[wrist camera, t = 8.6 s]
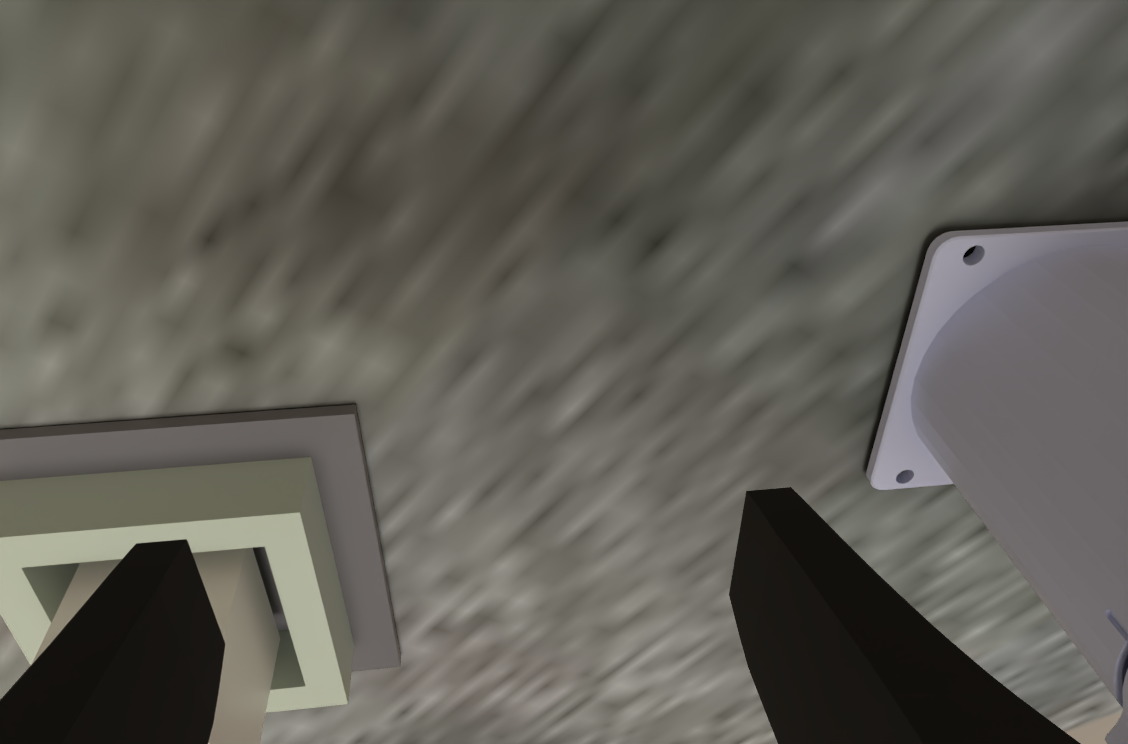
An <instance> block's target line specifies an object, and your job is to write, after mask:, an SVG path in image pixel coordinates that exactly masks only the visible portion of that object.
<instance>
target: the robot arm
mask: <svg viewBox="0 0 1128 744" xmlns="http://www.w3.org/2000/svg"><path fill="white" fill-rule="evenodd" d="M973 246H976V248H975V250H974V251H973V253H972V254H970V255H969V256H968V257H965V258H963V256H964V254H965V252H966V251H967V250H968V249H969V248H971V247H973ZM904 470H905V471H904ZM902 471H904V472H902ZM900 472H902V473H901V474H899V473H900ZM866 477H867V478H868V480H869V481H870V483H871V485H872V486H873V487H874V488H876V489H878V490H890V489H901V488H913V487H924V486H936V485H947V484H954V485H955V486H956V487H957V489H958V490H959V491H960V493H961V494H962V495H963V497H964V498H965V499H966V501H967V502H968V503H969V505H970V506H971V507H972V509H973V510H974V511H975V513H976V514H977V515H978V517H979V518H980V519H981V521H982V522H983V523H984V524H985V526H986V527H987V528H988V530H989V531H990V532H991V534H992V535H993V536H994V538H995V539H996V540H997V542H998V543H999V544H1000V546H1001V547H1002V548H1003V550H1004V551H1005V552H1006V554H1007V555H1008V556H1009V558H1010V559H1011V560H1012V562H1013V563H1014V564H1015V566H1016V567H1017V568H1018V570H1019V571H1020V572H1021V574H1022V575H1023V576H1024V578H1025V579H1026V580H1027V582H1028V583H1029V584H1030V586H1031V587H1032V588H1033V590H1034V591H1035V592H1036V594H1037V595H1038V596H1039V598H1040V599H1041V600H1042V602H1043V603H1044V604H1045V605H1046V607H1047V608H1048V609H1049V611H1050V612H1051V613H1052V615H1053V616H1054V617H1055V619H1056V620H1057V621H1058V623H1059V624H1060V625H1061V627H1062V628H1063V629H1064V631H1065V632H1066V633H1067V635H1068V636H1069V637H1070V639H1071V640H1072V641H1073V643H1074V644H1075V645H1076V647H1077V648H1078V649H1079V651H1080V652H1081V653H1082V655H1083V656H1084V657H1085V659H1086V660H1087V661H1088V663H1089V664H1090V665H1091V667H1092V668H1093V669H1094V671H1095V672H1096V673H1097V675H1098V676H1099V677H1100V679H1101V680H1102V681H1103V683H1104V684H1105V685H1106V687H1107V688H1108V689H1109V690H1110V692H1111V693H1112V694H1113V696H1114V697H1115V698H1116V700H1117V701H1118V702H1119V704H1120V705H1121V706H1122V708H1123V711H1122V714H1121V717H1120V718H1119V720H1118V722H1117V723H1116V725H1115V726H1114V727H1113V728H1112V730H1111V731H1110V732H1109V733H1108V734H1107V736H1106V737H1105V740H1106V742H1107V744H1128V221H1127V222H1109V223H1091V224H1072V225H1054V226H1036V227H1018V228H1000V229H982V230H963V231H951V232H946V233H943V234H942V235H940V236H938V237H937V238H936V239H935V240H934V241H933V242H932V243H931V244H930V246H929V248H928V250H927V253H926V256H925V260H924V264H923V267H922V271H921V275H920V278H919V282H918V286H917V289H916V293H915V297H914V300H913V304H912V307H911V311H910V315H909V318H908V322H907V326H906V329H905V333H904V337H903V340H902V344H901V348H900V351H899V355H898V358H897V362H896V366H895V369H894V373H893V377H892V380H891V384H890V388H889V391H888V395H887V399H886V402H885V406H884V409H883V413H882V417H881V420H880V424H879V428H878V431H877V435H876V439H875V442H874V446H873V450H872V453H871V457H870V460H869V464H868V468H867V471H866ZM729 596H730V600H731V604H732V608H733V612H734V616H735V620H736V624H737V628H738V632H739V635H740V639H741V643H742V646H743V650H744V654H745V657H746V661H747V664H748V667H749V670H750V673H751V675H752V678H753V681H754V683H755V686H756V688H757V691H758V694H759V696H760V699H761V701H762V704H763V706H764V709H765V712H766V714H767V717H768V719H769V722H770V724H771V727H772V729H773V732H774V734H775V737H776V739H777V742H778V744H1080V743H1079V742H1077V741H1076V740H1075V739H1073V738H1072V737H1071V736H1069V735H1068V734H1067V733H1065V732H1064V731H1063V730H1061V729H1060V728H1059V727H1057V726H1056V725H1055V724H1053V723H1052V722H1051V721H1049V720H1048V719H1047V718H1045V717H1044V716H1043V715H1041V714H1040V713H1039V712H1037V711H1036V710H1035V709H1033V708H1032V707H1031V706H1029V705H1028V704H1027V703H1025V702H1024V701H1023V700H1021V699H1020V698H1019V697H1017V696H1016V695H1015V694H1014V693H1012V692H1011V691H1010V690H1008V689H1007V688H1006V687H1005V686H1003V685H1002V684H1001V683H1000V682H998V681H997V680H996V679H995V678H993V677H992V676H991V675H990V674H989V673H987V672H986V671H985V670H984V669H983V668H981V667H980V666H979V665H978V664H977V663H975V662H974V661H973V660H972V659H971V658H970V657H968V656H967V655H966V654H965V653H964V652H963V651H961V650H960V649H959V648H958V647H957V646H956V645H954V644H953V643H952V642H951V641H950V640H949V639H947V638H946V637H945V636H944V635H943V634H942V633H941V632H940V631H938V630H937V629H936V628H935V627H934V626H933V625H932V624H931V623H930V622H928V621H927V620H926V619H925V618H924V617H923V616H922V615H921V614H920V613H919V612H918V611H916V610H915V609H914V608H913V607H912V606H911V605H910V604H909V603H908V602H907V601H906V600H905V599H904V598H903V597H901V596H900V595H899V594H898V593H897V592H896V591H895V590H894V589H893V588H892V587H891V586H890V585H889V584H888V583H887V582H885V581H884V580H883V579H882V578H881V577H880V576H879V575H878V574H877V573H876V572H875V571H874V570H873V569H872V568H871V567H870V566H869V565H868V564H867V563H866V562H865V561H864V560H863V559H862V558H861V557H860V556H859V555H858V554H857V553H856V552H855V551H854V550H853V549H852V548H851V547H850V546H849V545H848V544H847V543H846V542H845V541H844V540H843V539H842V538H841V537H840V536H839V535H838V534H837V533H836V532H835V531H834V530H833V529H832V528H831V527H830V526H829V525H828V524H827V523H826V522H825V521H824V520H823V519H822V518H821V517H820V516H819V515H818V514H817V513H816V512H815V511H814V510H813V509H812V508H811V507H810V506H809V505H808V504H807V503H806V502H805V501H804V500H803V499H802V498H801V497H800V496H799V495H798V494H797V493H796V492H795V491H794V490H793V489H792V488H791V487H790V488H778V489H766V490H755V491H746V497H745V503H744V509H743V515H742V521H741V527H740V533H739V539H738V545H737V551H736V557H735V563H734V569H733V575H732V580H731V586H730V592H729ZM224 651H225V641H224V639H223V636H222V633H221V630H220V628H219V625H218V622H217V620H216V617H215V614H214V611H213V609H212V606H211V603H210V601H209V598H208V595H207V592H206V590H205V587H204V584H203V581H202V579H201V576H200V573H199V571H198V568H197V565H196V562H195V560H194V557H193V554H192V552H191V549H190V546H189V543H188V541H187V539H183V540H171V541H159V542H148V543H136V544H135V545H134V547H133V548H132V549H131V550H130V551H129V552H128V553H127V554H126V555H125V557H124V558H123V559H122V560H121V561H120V562H119V563H118V565H117V566H116V567H115V568H114V569H113V570H112V572H111V573H110V574H109V575H108V576H107V577H106V579H105V580H104V581H103V582H102V583H101V585H100V586H99V587H98V588H97V589H96V590H95V592H94V593H93V594H92V595H91V596H90V598H89V599H88V600H87V601H86V602H85V604H84V605H83V606H82V607H81V608H80V609H79V611H78V612H77V613H76V614H75V615H74V616H73V618H72V619H71V620H70V621H69V622H68V623H67V625H66V626H65V627H64V628H63V629H62V631H61V632H60V633H59V634H58V635H57V636H56V638H55V639H54V640H53V641H52V642H51V643H50V645H49V646H48V647H47V648H46V649H45V650H44V651H43V652H42V654H41V655H40V656H39V657H38V658H37V659H36V660H35V661H34V663H33V664H32V665H31V666H30V667H29V668H28V669H27V671H26V672H25V673H24V674H23V675H22V676H21V677H20V678H19V680H18V681H17V682H16V683H15V684H14V685H13V686H12V687H11V689H10V690H9V691H8V692H7V693H6V694H5V695H4V696H3V698H2V699H1V700H0V744H208V742H209V738H210V734H211V730H212V727H213V723H214V717H215V711H216V705H217V699H218V693H219V686H220V679H221V672H222V665H223V658H224Z"/></svg>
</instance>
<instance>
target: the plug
mask: <svg viewBox="0 0 1128 744" xmlns="http://www.w3.org/2000/svg"><path fill="white" fill-rule="evenodd" d="M192 554H193V557H194V560H195V562H196V565H197V568H198V571H199V573H200V576H201V579H202V581H203V584H204V587H205V590H206V592H207V595H208V598H209V601H210V603H211V606H212V609H213V611H214V614H215V617H216V620H217V622H218V625H219V628H220V630H221V633H222V636H223V639H224V641H225V651H224V658H223V665H222V672H221V679H220V686H219V693H218V699H217V705H216V711H215V717H214V723H213V727H212V730H211V734H210V738H209V742H208V744H260V739H261V734H262V729H263V724H264V719H265V714H266V709H267V703H268V698H269V693H270V688H271V683H272V678H273V673H274V668H275V662H276V657H277V652H278V647H279V642H280V636H279V632H278V629H277V626H276V623H275V619H274V616H273V613H272V610H271V606H270V603H269V600H268V597H267V593H266V590H265V587H264V584H263V580H262V577H261V574H260V571H259V567H258V564H257V561H256V558H255V554H254V551H253V548H242V549H230V550H219V551H207V552H196V553H192ZM121 560H122V559H116V560H104V561H93V562H81V563H80V564H79V566H78V568H77V570H76V572H75V575H74V577H73V579H72V581H71V583H70V585H69V587H68V589H67V591H66V593H65V595H64V598H63V600H62V602H61V604H60V606H59V608H58V610H57V612H56V614H55V616H54V618H53V621H52V623H51V625H50V627H49V629H48V631H47V633H46V635H45V637H44V639H43V641H42V643H41V646H40V648H39V650H38V652H37V654H36V656H35V658H34V660H33V662H32V664H33V663H34V661H35V660H36V659H37V658H38V657H39V656H40V655H41V654H42V652H43V651H44V650H45V649H46V648H47V647H48V646H49V645H50V643H51V642H52V641H53V640H54V639H55V638H56V636H57V635H58V634H59V633H60V632H61V631H62V629H63V628H64V627H65V626H66V625H67V623H68V622H69V621H70V620H71V619H72V618H73V616H74V615H75V614H76V613H77V612H78V611H79V609H80V608H81V607H82V606H83V605H84V604H85V602H86V601H87V600H88V599H89V598H90V596H91V595H92V594H93V593H94V592H95V590H96V589H97V588H98V587H99V586H100V585H101V583H102V582H103V581H104V580H105V579H106V577H107V576H108V575H109V574H110V573H111V572H112V570H113V569H114V568H115V567H116V566H117V565H118V563H119V562H120V561H121ZM32 664H31V665H32Z"/></svg>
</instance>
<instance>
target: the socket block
mask: <svg viewBox="0 0 1128 744" xmlns="http://www.w3.org/2000/svg"><path fill="white" fill-rule="evenodd" d="M183 539H187V541H188V543H189V546H190V549H191V552H192V553H196V552H207V551H219V550H230V549H242V548H253V551H254V554H255V558H256V561H257V564H258V567H259V571H260V574H261V577H262V580H263V584H264V587H265V590H266V593H267V597H268V600H269V603H270V606H271V610H272V613H273V616H274V619H275V623H276V626H277V629H278V632H279V636H280V642H279V647H278V652H277V657H276V662H275V668H274V673H273V678H272V683H271V688H270V693H269V698H268V703H267V709H266V713H267V712H277V711H286V710H295V709H305V708H314V707H323V706H333V705H342V704H348V699H349V689H350V680H351V672H352V671H362V670H371V669H381V668H391V667H400V663H401V654H400V648H399V643H398V637H397V632H396V626H395V621H394V615H393V609H392V604H391V598H390V593H389V587H388V582H387V576H386V571H385V565H384V560H383V554H382V548H381V543H380V537H379V532H378V526H377V521H376V515H375V510H374V504H373V498H372V493H371V487H370V482H369V476H368V471H367V465H366V460H365V454H364V448H363V443H362V437H361V432H360V426H359V421H358V415H357V410H356V404H354V405H340V406H326V407H312V408H298V409H284V410H270V411H256V412H242V413H228V414H214V415H200V416H186V417H172V418H158V419H145V420H131V421H117V422H103V423H89V424H75V425H61V426H47V427H33V428H19V429H5V430H0V614H1V616H2V618H3V619H4V621H5V623H6V624H7V626H8V628H9V629H10V631H11V633H12V634H13V636H14V638H15V640H16V641H17V643H18V645H19V646H20V648H21V650H22V651H23V653H24V655H25V656H26V658H27V660H28V661H29V663H30V665H31V664H32V662H33V660H34V658H35V656H36V654H37V652H38V650H39V648H40V646H41V643H42V641H43V639H44V637H45V635H46V633H47V631H48V629H49V627H50V625H51V623H52V621H53V618H54V616H55V614H56V612H57V610H58V608H59V606H60V604H61V602H62V600H63V598H64V595H65V593H66V591H67V589H68V587H69V585H70V583H71V581H72V579H73V577H74V575H75V572H76V570H77V568H78V566H79V564H80V563H81V562H93V561H104V560H116V559H123V558H124V557H125V555H126V554H127V553H128V552H129V551H130V550H131V549H132V548H133V547H134V545H135V544H136V543H148V542H159V541H171V540H183Z"/></svg>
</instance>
